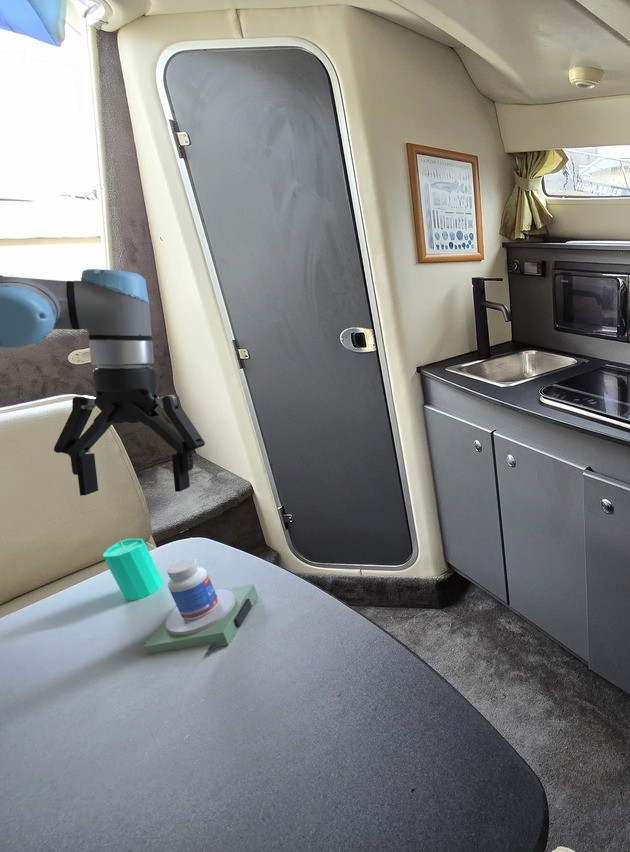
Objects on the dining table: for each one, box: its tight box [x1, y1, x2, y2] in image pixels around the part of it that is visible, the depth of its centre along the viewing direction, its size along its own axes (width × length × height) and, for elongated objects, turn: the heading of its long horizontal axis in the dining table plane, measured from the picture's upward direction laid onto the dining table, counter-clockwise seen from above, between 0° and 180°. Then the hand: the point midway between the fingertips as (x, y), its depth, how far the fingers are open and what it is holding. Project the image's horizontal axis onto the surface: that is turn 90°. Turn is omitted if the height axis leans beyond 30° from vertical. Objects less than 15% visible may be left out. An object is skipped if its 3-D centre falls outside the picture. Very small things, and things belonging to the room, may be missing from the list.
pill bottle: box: [166, 557, 218, 620], centre depth 86 cm, size 6×5×10 cm
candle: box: [102, 538, 164, 601], centre depth 97 cm, size 6×6×12 cm
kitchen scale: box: [143, 583, 259, 655], centre depth 89 cm, size 12×12×4 cm
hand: (136, 491), depth 84 cm, fingers open, 13 cm apart
